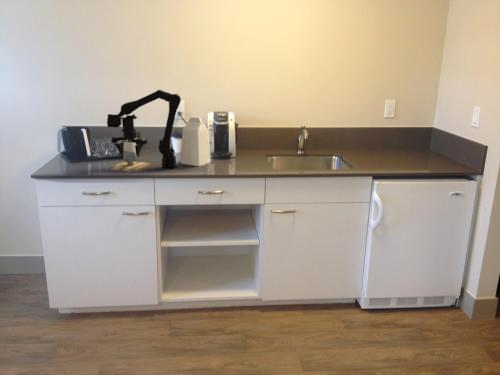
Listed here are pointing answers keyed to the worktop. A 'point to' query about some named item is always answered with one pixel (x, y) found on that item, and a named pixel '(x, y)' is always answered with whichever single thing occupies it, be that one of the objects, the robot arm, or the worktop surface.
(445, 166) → the worktop surface
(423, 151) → the worktop surface
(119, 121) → the robot arm
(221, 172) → the worktop surface
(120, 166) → the base
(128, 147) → the pill bottle
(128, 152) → the cap
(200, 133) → the milk
